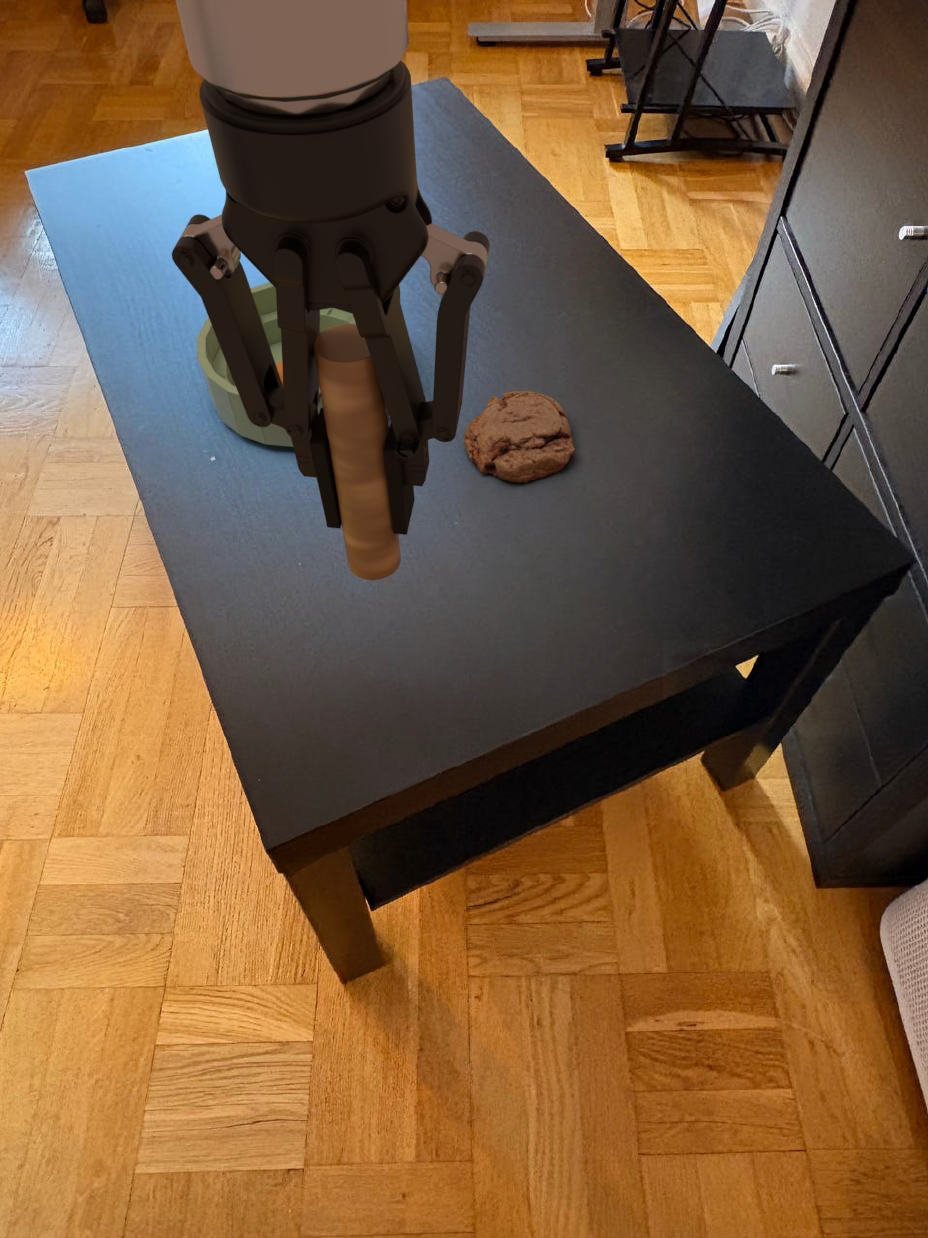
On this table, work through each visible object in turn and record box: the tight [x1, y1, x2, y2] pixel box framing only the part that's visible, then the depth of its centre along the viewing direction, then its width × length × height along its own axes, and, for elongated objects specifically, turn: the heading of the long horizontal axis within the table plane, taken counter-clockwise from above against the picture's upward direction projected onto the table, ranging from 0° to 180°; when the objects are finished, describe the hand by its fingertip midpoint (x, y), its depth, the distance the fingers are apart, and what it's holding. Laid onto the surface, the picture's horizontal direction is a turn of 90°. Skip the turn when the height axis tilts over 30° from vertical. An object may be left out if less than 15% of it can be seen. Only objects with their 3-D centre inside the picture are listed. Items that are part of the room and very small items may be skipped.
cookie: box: [463, 390, 575, 484], centre depth 75 cm, size 10×11×3 cm
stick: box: [313, 324, 402, 581], centre depth 45 cm, size 3×3×15 cm
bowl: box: [196, 281, 356, 448], centre depth 79 cm, size 18×18×6 cm
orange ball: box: [276, 362, 283, 385], centre depth 79 cm, size 3×3×3 cm
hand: (371, 512), depth 49 cm, fingers closed on stick, 3 cm apart
